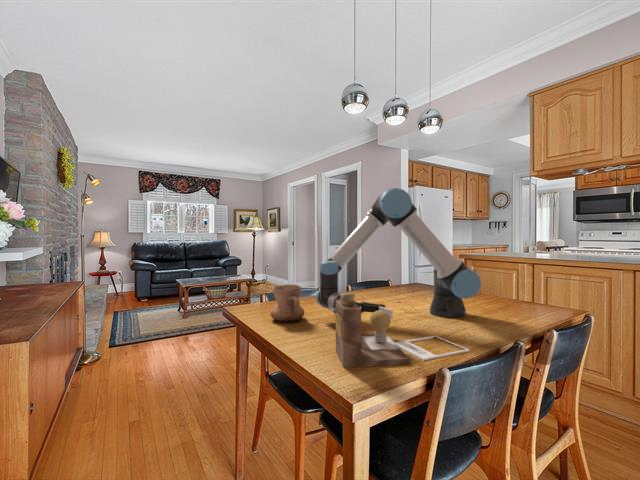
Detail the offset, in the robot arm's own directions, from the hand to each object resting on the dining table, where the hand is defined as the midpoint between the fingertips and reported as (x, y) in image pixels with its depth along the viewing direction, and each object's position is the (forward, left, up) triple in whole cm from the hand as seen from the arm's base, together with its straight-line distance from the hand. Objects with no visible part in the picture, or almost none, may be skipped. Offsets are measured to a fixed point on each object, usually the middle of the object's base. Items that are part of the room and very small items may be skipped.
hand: (375, 317), depth 102 cm
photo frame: (-17, +4, -10) cm, 20 cm away
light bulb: (-1, +2, -8) cm, 8 cm away
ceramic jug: (+28, -35, -10) cm, 46 cm away
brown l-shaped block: (+4, +4, -10) cm, 11 cm away
